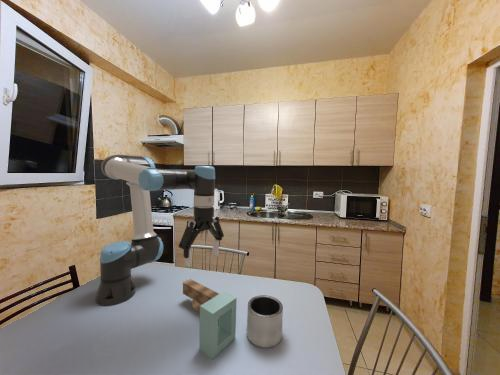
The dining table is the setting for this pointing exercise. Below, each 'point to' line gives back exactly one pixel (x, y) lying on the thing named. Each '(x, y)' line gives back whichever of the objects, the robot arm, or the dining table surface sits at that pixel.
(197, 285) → the brown wooden long bar
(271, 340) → the planter
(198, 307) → the rail
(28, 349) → the dining table surface
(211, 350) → the green rectangular frame
